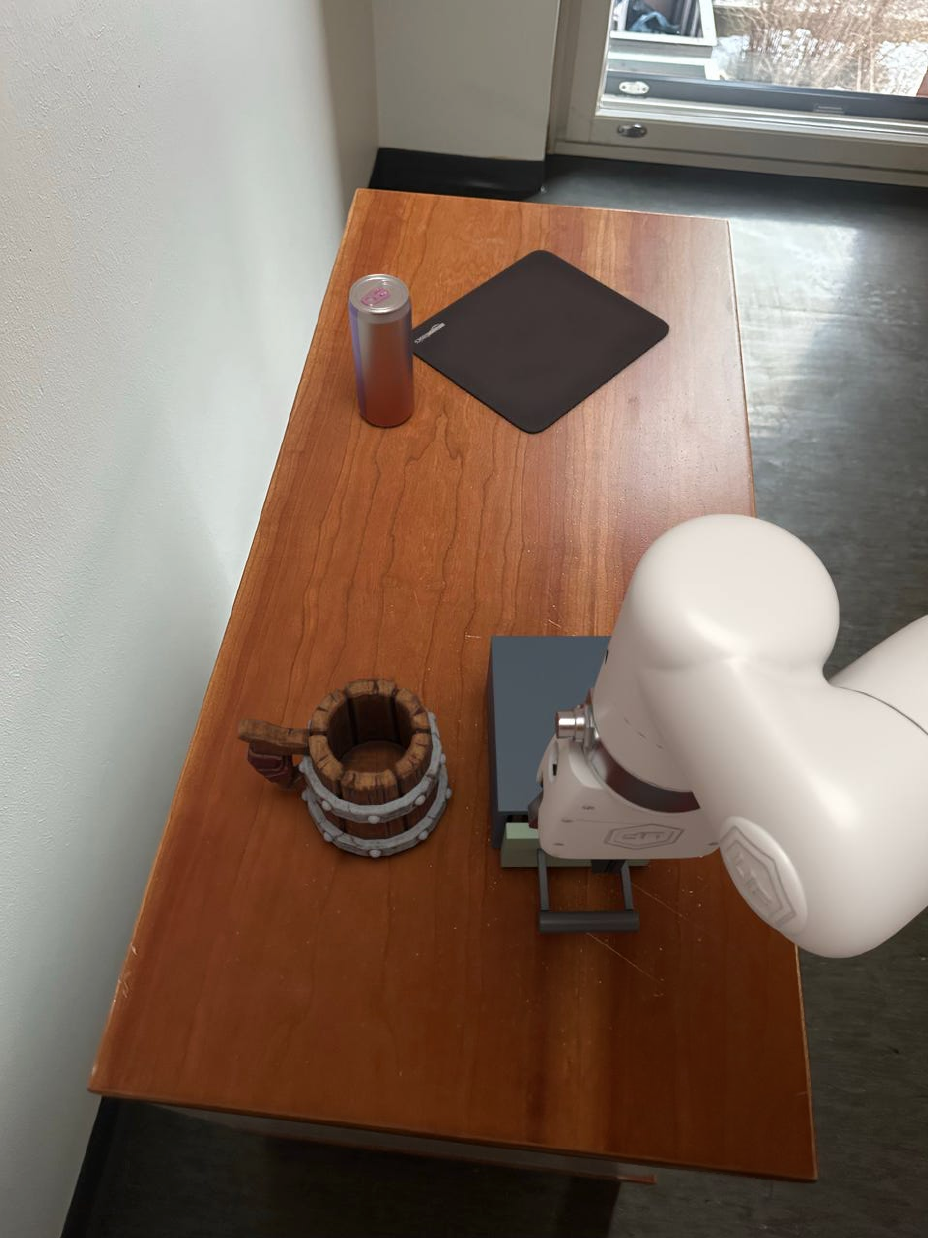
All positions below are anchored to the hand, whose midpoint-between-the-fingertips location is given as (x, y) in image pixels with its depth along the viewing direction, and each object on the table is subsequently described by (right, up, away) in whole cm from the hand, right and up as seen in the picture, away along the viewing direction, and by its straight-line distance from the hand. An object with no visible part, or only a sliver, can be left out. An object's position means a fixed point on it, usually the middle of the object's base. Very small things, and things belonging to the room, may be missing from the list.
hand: (602, 850), depth 57 cm
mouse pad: (0, +47, +46) cm, 66 cm away
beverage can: (-17, +37, +39) cm, 57 cm away
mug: (-17, 0, +16) cm, 24 cm away
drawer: (0, -1, +14) cm, 14 cm away
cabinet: (0, +3, +18) cm, 18 cm away
